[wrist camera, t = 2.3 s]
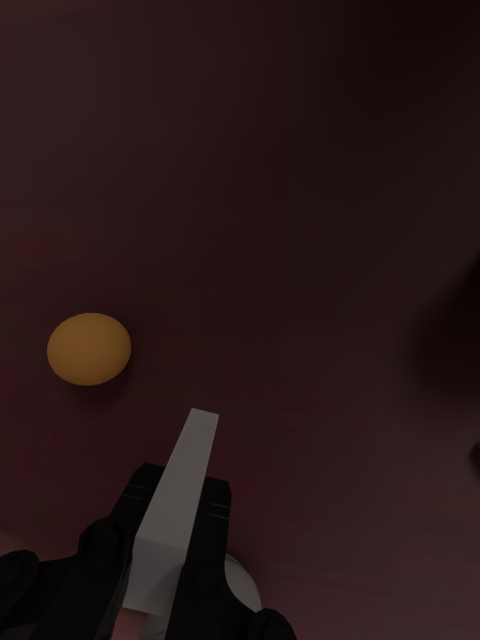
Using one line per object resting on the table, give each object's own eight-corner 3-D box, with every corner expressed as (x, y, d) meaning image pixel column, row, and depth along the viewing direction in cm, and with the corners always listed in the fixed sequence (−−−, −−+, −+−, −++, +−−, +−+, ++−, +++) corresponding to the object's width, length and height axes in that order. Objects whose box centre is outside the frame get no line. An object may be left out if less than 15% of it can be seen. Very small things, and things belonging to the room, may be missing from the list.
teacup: (241, 619, 28) (236, 754, 20) (151, 588, 28) (111, 713, 20) (288, 529, 25) (302, 648, 17) (186, 494, 25) (155, 598, 17)
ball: (84, 300, 21) (27, 312, 16) (147, 315, 21) (110, 332, 16) (79, 359, 22) (24, 389, 17) (138, 374, 22) (101, 408, 17)
